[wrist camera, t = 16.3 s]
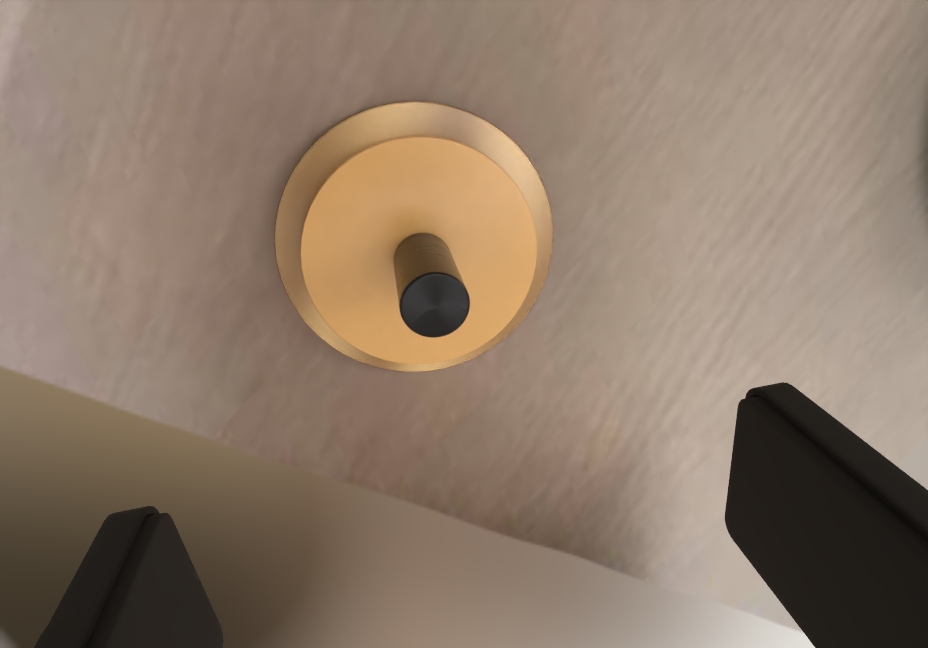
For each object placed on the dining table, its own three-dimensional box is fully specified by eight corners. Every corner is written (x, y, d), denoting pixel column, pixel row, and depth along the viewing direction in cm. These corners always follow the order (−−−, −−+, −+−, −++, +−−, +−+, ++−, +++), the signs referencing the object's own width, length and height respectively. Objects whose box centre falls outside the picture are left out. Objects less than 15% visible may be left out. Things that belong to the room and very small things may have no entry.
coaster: (262, 348, 26) (261, 353, 26) (293, 67, 22) (292, 67, 21) (511, 381, 29) (513, 386, 29) (584, 138, 25) (588, 139, 24)
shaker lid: (290, 336, 26) (269, 412, 20) (320, 107, 22) (304, 123, 16) (499, 365, 28) (531, 441, 22) (557, 162, 24) (613, 192, 19)
